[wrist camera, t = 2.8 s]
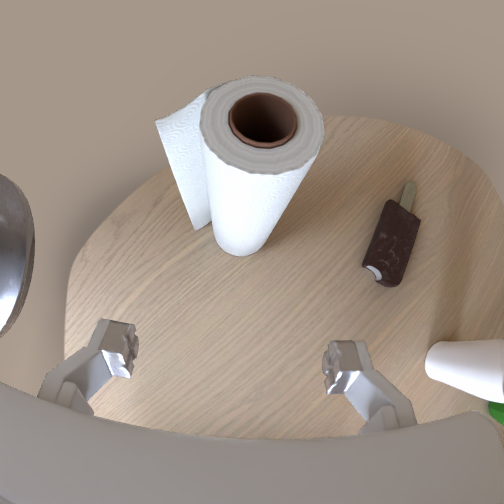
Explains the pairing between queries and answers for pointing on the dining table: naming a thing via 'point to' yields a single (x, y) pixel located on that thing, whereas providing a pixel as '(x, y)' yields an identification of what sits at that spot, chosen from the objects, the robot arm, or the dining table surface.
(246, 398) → the dining table surface
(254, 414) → the dining table surface
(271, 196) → the paper towel roll
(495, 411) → the bell pepper
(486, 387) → the drinking glass
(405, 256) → the ice cream bar
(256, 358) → the dining table surface
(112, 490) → the robot arm
